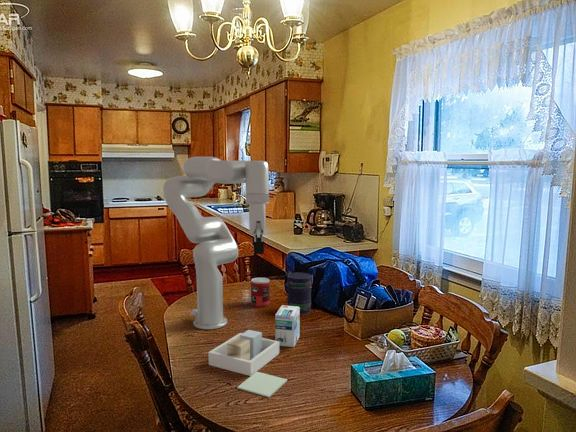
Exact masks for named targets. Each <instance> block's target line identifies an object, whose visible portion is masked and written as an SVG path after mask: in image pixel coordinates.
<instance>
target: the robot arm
mask: <svg viewBox="0 0 576 432" xmlns="http://www.w3.org/2000/svg"><path fill="white" fill-rule="evenodd" d="M182 169H183V170H182V171H183V172H184V174H185V175H177V176H172V177H169V178H168V179H166V180H165V181H164V183H163V186H162V187H163V197H164V201H165V203H166V204H167V205H166V206H168V208H169V209H170V211H171V212H172V213H173V214H174V215H175V217H176V218H177V220H178V221H177V222H179V225H180V226H181V228H182V230H183V233H184V234H185V235H186V238H187V239H188V240H189V242H190V243H194V244H196V246H195V247H194V248H193V251H192V257H193V262H194V265H195V274H196V275H195V276H196V306H197V308H193V309H191V312H190V313H189V314H190V317H191V316H192V317H195V319H194V320H193V322H192V323H193V327H195V328H196V329H198V330H199V329H200V330H216V329H220V328H223V327H225V326H226V325H227V324H228V319H227V318H226V316H224V295H223V294H224V291H223V289H224V288H223V276H222V273H221V272H220V270H219V268H218V266H220V265H224V264H229V263H233V262H234V261H236V260H237V258H238V257H239V246H238V244H237V242H236V240H235V238H234V237H233V235H232V233H231V232H230V229H229V228H228V226H227V225H226V223H225V222H224V220H223V219H221V218H220V217H218V216H203V215H202V214H201V213H200V211H199V209H198V207H197V206H196V205H195V204H194V203H192V202H191V201H190V200H188V199H187V198H198V197H203V196H205V195H207V194H208V193H209V191H210V190H211V189H212V187H213V186H214V185H215V184H223V185H224V184H225V185H227V184H228V185H230V184H232V185H233V184H245V204H246V205H248V218H249V220H248V223H249V227H248V228H249V236H252V235H253V254H254V255H264V254H265V241H264V235H265V233H266V225H267V224H266V219H267V218H266V216H267V215H266V214H267V213H266V211H267V210H266V205H267V204H270V185H269V184H270V182H269V181H270V180H269V171H270V170H269V164H268V162H267V161H265V160H235V159H234V160H222V159H220V158H219V157H216V156H215V157H214V156H191V157H188V158H187V159H186V160H185V161H184V162H183V166H182Z"/></svg>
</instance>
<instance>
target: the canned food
mask: <svg viewBox="0 0 576 432" xmlns="http://www.w3.org/2000/svg"><path fill="white" fill-rule="evenodd" d="M270 284H271V283H270V279H269V278H267V277H253V278H251V279H250V304H251V306H252V307H254V308H266V307H268V306H270V292H271V291H270V286H271V285H270Z"/></svg>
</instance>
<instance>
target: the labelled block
mask: <svg viewBox="0 0 576 432" xmlns="http://www.w3.org/2000/svg"><path fill="white" fill-rule="evenodd" d="M227 355H229V356H233V357H237V358H241V359H245V360H249V361H250V360H251V359H250V340H246V339H242V338H237V337H236V338H234V339H233V340H231V341H229V342H228V343H227Z"/></svg>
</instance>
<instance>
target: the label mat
mask: <svg viewBox="0 0 576 432" xmlns="http://www.w3.org/2000/svg"><path fill="white" fill-rule="evenodd" d="M287 381H288V379H287V378H283V377H280V376H276V375H271V374H268V373H263V372H260V371H257V372H255V373H254V374H253V375H252V376H249V377H248V378H246V379H245V380H244V381H243V382H241V384H239V385H238V386H237V387H236V388H237V389H239V390H242V391H245V392H249V393H252V394H256V395H259V396H262V397H266V398H271V397H272V396H273V395H274V394H275V393H276V392H277V391H278V390H279V389H280V388H281V387H283V385H285V383H287Z"/></svg>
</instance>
